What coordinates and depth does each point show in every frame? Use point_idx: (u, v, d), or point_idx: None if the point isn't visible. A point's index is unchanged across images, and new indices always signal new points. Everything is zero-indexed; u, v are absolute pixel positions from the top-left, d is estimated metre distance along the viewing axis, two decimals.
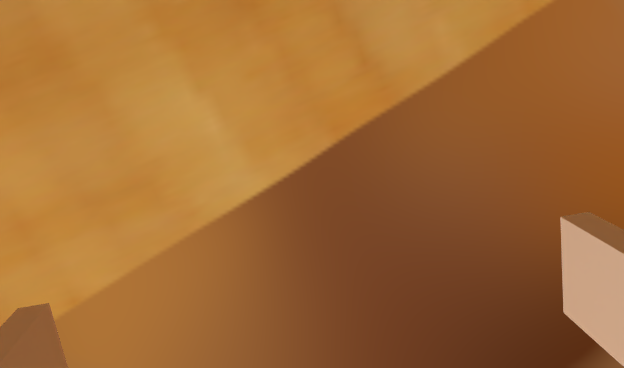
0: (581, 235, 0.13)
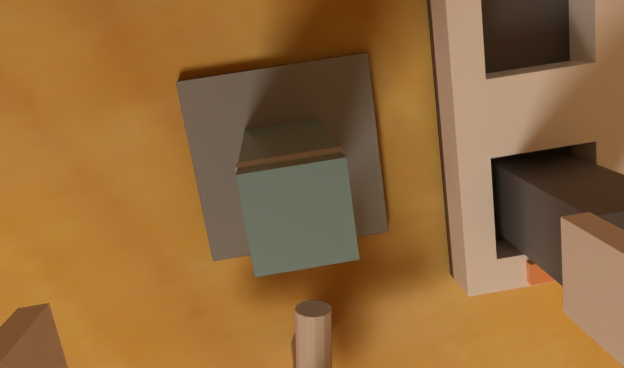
0: (581, 235, 0.13)
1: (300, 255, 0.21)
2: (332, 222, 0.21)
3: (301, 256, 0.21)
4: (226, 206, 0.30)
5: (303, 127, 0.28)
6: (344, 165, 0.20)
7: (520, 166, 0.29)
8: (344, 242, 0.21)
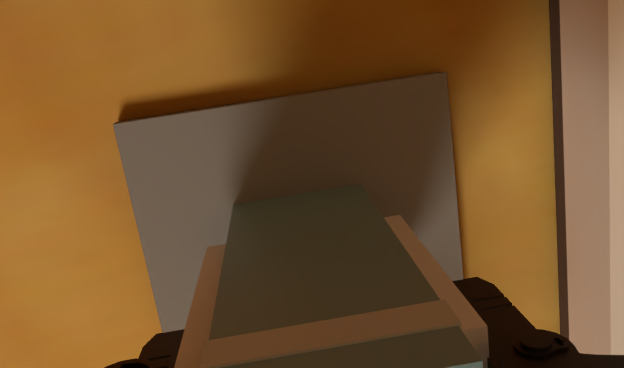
0: None
1: None
2: None
3: None
4: None
5: (338, 208, 0.15)
6: None
7: None
8: None
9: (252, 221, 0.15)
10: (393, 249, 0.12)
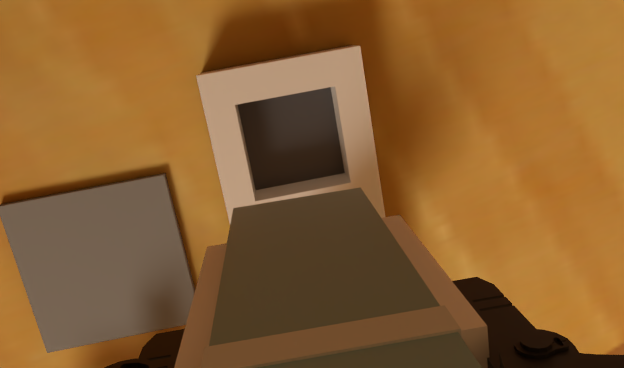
0: None
1: None
2: None
3: None
4: (53, 306, 0.35)
5: (338, 212, 0.15)
6: None
7: None
8: None
9: (252, 225, 0.15)
10: (393, 254, 0.12)
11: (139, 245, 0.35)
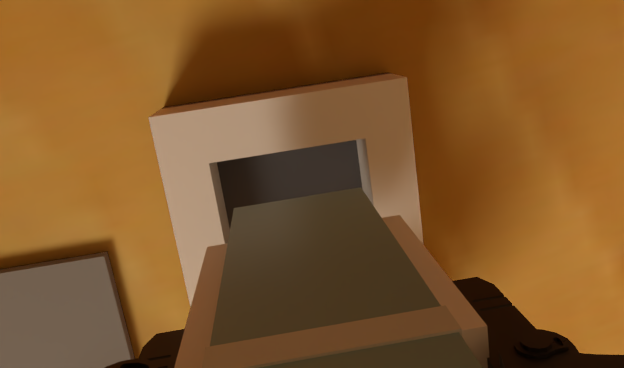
0: None
1: None
2: None
3: None
4: None
5: (338, 212, 0.15)
6: None
7: None
8: None
9: (252, 225, 0.15)
10: (393, 254, 0.12)
11: (67, 355, 0.24)
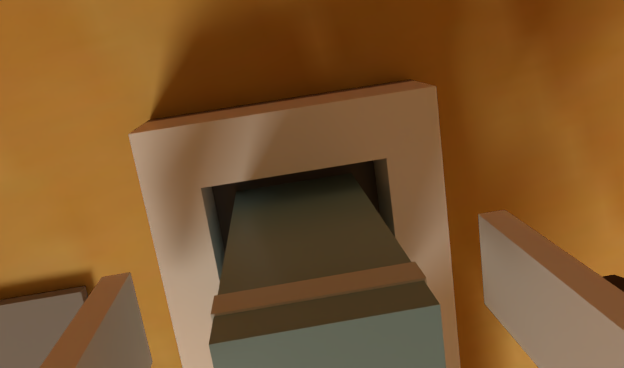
0: (492, 231, 0.14)
1: None
2: None
3: None
4: None
5: (330, 193, 0.17)
6: (435, 321, 0.10)
7: None
8: None
9: (253, 205, 0.17)
10: (375, 225, 0.14)
11: None
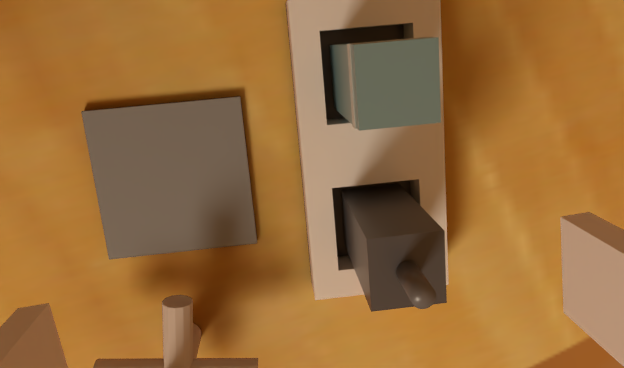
0: (581, 235, 0.13)
1: (396, 115, 0.27)
2: (423, 89, 0.26)
3: (396, 116, 0.27)
4: (121, 214, 0.37)
5: None
6: (436, 44, 0.26)
7: (358, 195, 0.36)
8: (430, 107, 0.27)
9: None
10: None
11: (208, 162, 0.37)
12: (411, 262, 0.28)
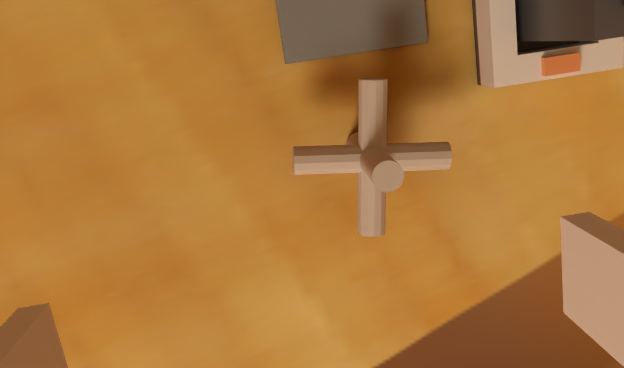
0: (581, 235, 0.13)
1: None
2: None
3: None
4: (297, 15, 0.38)
5: None
6: None
7: None
8: None
9: None
10: None
11: None
12: None
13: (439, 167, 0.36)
